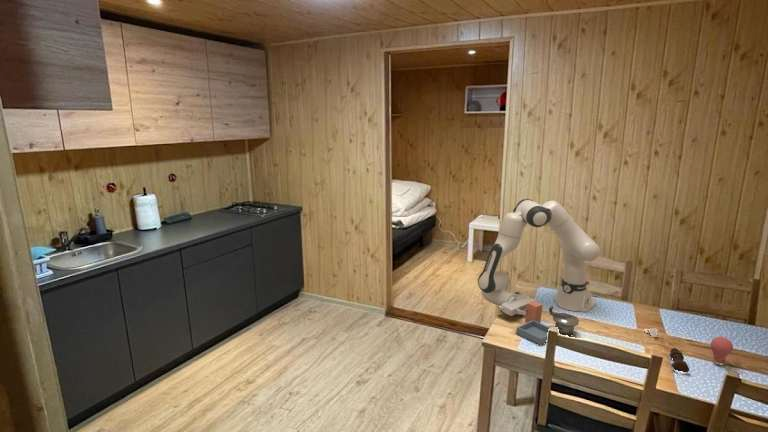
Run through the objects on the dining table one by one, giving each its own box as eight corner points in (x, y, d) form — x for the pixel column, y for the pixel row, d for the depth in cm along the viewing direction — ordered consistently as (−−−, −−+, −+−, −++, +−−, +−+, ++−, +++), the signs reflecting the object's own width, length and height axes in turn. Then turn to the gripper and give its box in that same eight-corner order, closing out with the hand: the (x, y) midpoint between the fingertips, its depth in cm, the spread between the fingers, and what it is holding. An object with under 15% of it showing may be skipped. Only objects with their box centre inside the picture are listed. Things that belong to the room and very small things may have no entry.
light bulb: (702, 359, 175) (708, 333, 172) (718, 359, 175) (724, 333, 172) (716, 369, 168) (723, 342, 165) (733, 369, 168) (739, 342, 166)
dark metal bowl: (579, 331, 195) (582, 310, 193) (573, 341, 187) (576, 319, 184) (550, 322, 203) (553, 302, 201) (543, 331, 195) (546, 310, 192)
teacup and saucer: (641, 330, 198) (642, 323, 197) (661, 334, 195) (662, 327, 194) (643, 339, 191) (645, 331, 190) (663, 343, 187) (665, 335, 186)
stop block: (531, 319, 206) (533, 300, 204) (540, 323, 202) (542, 304, 200) (525, 322, 203) (527, 303, 201) (534, 326, 200) (536, 307, 197)
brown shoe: (675, 359, 178) (681, 377, 164) (664, 351, 179) (669, 368, 166) (686, 350, 175) (692, 368, 162) (674, 342, 177) (680, 359, 163)
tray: (532, 326, 199) (533, 319, 198) (556, 337, 189) (557, 330, 188) (516, 334, 192) (516, 327, 191) (540, 346, 182) (541, 339, 181)
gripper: (496, 300, 207) (519, 311, 196) (521, 291, 218) (544, 300, 208) (495, 312, 208) (518, 323, 197) (520, 302, 220) (543, 312, 209)
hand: (532, 311), depth 202 cm, fingers open, 8 cm apart
